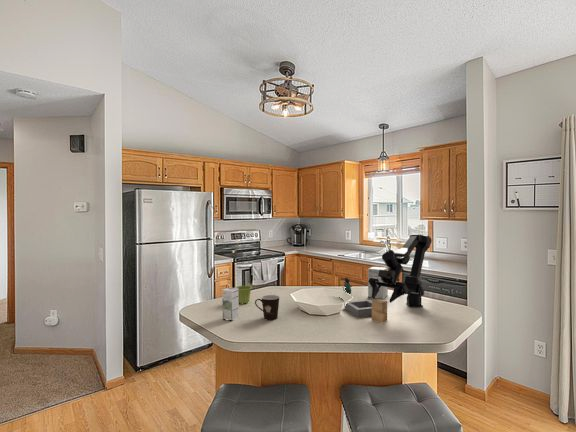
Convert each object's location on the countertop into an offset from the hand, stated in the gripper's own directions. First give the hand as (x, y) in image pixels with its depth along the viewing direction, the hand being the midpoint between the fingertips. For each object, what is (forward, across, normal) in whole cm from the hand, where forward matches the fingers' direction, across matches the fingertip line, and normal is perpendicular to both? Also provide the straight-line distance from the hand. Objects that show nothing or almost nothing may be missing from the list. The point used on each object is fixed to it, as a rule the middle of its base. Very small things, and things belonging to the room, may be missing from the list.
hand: (381, 300), depth 151 cm
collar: (+3, -13, +10) cm, 16 cm away
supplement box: (-18, -24, +31) cm, 43 cm away
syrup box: (+42, -50, -29) cm, 71 cm away
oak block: (+7, 0, +6) cm, 9 cm away
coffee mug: (+32, -39, -18) cm, 54 cm away
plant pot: (+28, -69, -14) cm, 75 cm away
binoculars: (-8, -38, +21) cm, 45 cm away
